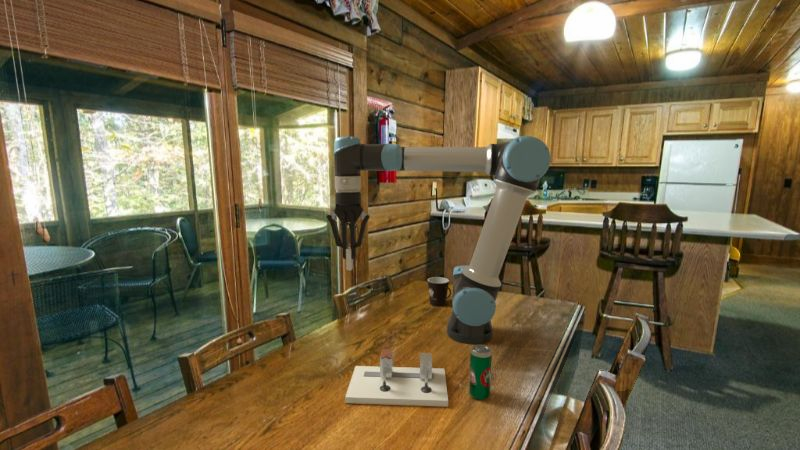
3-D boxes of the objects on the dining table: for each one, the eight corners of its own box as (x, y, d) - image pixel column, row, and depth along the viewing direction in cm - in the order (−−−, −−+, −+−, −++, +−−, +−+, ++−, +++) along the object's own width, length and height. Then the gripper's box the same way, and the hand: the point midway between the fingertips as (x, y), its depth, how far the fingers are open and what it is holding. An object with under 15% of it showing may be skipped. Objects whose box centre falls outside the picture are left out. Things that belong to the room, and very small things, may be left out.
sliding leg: (392, 369, 98) (392, 348, 97) (390, 387, 90) (390, 365, 89) (381, 368, 98) (381, 348, 97) (378, 387, 90) (377, 365, 89)
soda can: (467, 388, 93) (468, 343, 91) (487, 389, 93) (489, 343, 91) (470, 401, 88) (472, 353, 86) (492, 401, 88) (494, 354, 86)
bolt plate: (444, 373, 100) (444, 367, 99) (448, 406, 86) (448, 399, 85) (355, 371, 101) (355, 365, 101) (345, 403, 87) (345, 396, 87)
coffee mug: (425, 300, 155) (425, 277, 154) (445, 299, 156) (446, 276, 155) (430, 310, 144) (431, 286, 142) (452, 310, 145) (453, 285, 143)
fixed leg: (431, 371, 97) (431, 351, 97) (432, 390, 89) (432, 368, 88) (420, 370, 98) (420, 350, 97) (419, 389, 89) (420, 368, 88)
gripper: (322, 191, 105) (325, 272, 109) (368, 191, 105) (369, 272, 108) (329, 190, 113) (331, 265, 116) (371, 190, 112) (372, 266, 116)
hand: (349, 269), depth 112 cm, fingers closed
